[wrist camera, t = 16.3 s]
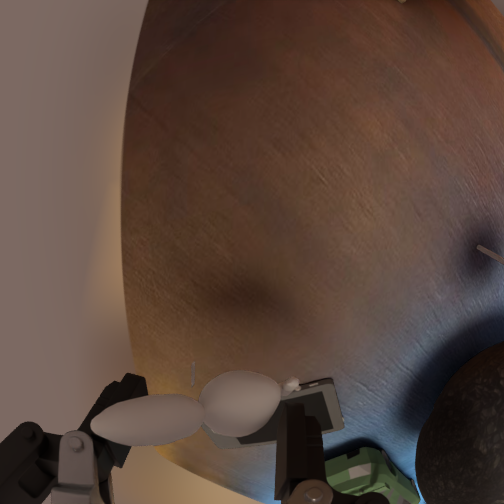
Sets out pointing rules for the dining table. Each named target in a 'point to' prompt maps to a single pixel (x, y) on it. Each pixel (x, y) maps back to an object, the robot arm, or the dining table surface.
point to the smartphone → (315, 403)
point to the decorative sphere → (466, 436)
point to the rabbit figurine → (195, 410)
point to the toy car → (370, 476)
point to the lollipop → (491, 254)
